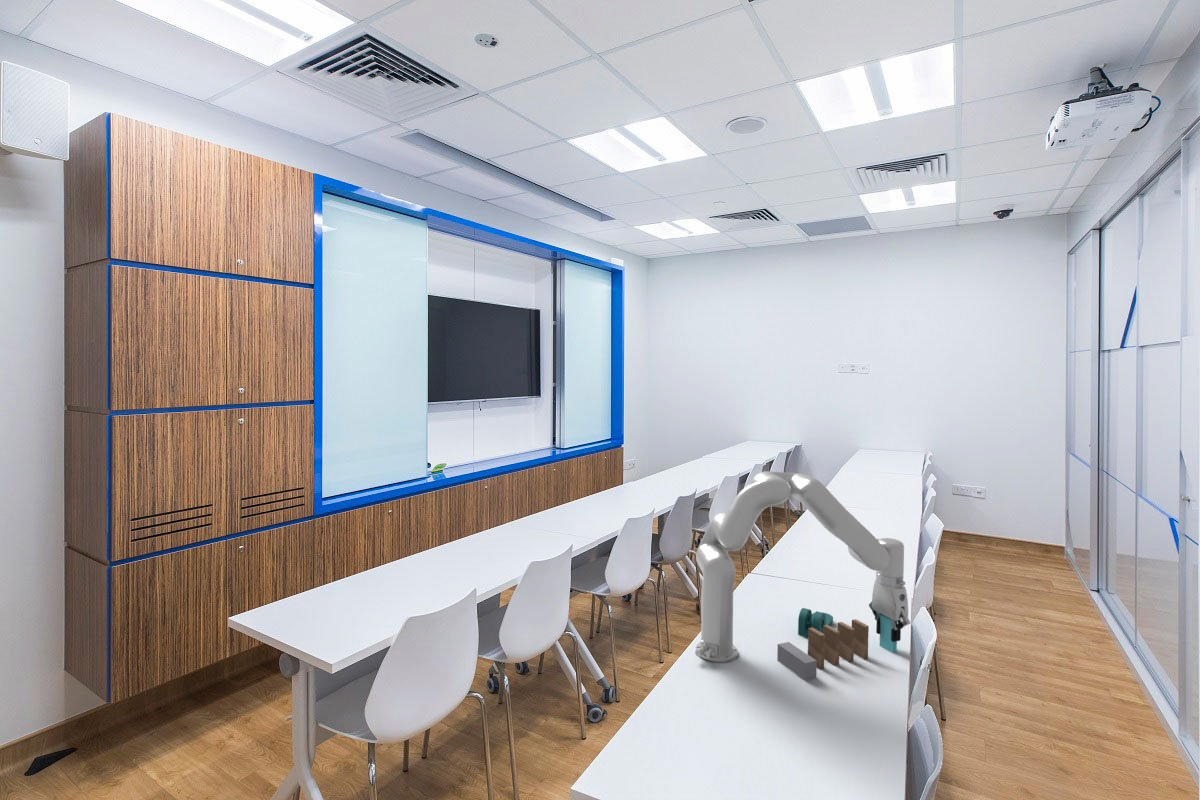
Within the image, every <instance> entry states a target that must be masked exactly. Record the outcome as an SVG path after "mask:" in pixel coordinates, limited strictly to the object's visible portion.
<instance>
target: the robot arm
mask: <svg viewBox="0 0 1200 800" xmlns="http://www.w3.org/2000/svg"><path fill="white" fill-rule="evenodd" d="M789 499H794V500H797V501H799V502H800V503H801V504H802V505H803V506H804V507H805V508H806V509H807V510H808V511H809V512H810V513H811V514H812V515H813V516H814V517H815V519H816V520H817V521H818V522H819V523H820V524H821V525H822V527H823V528H825V529H826V530H827V531H828V532H829V533H830V534H831V535H833V536H834V537H835V538H837V539H839V540H840V541H841V542H842V543H844V544H845V545H847V549H848V553H849V555H850V556H851V557H852V558H853V559H854V560H856V561H857V562H859V563H861V564H862V565H863V566H865V567H866V568H868V569H869V570H871V571H875V572H876V573H875V574H876V575H875V580H874V584H873V587H872V588H873V589H872V594H871V595H872V597H871V602H869V604H868V607H869V608H870V610H871V611H872V614H873V616H874V619H875V621H876V628H875V629H876V630H875V631H876V634H878V635H880V614H882V615H885V616H887V617H889V618H891V620H892V625H893V629H891V641H892V642H896V641H897V642H899V641H901V636H902V635H901V634H902V633H901V631H902V630H903V628H904V627H906V626H909V625H910V624H911V621H910V619H909V601H908V594H907V589H906V586H905V585H906V581H904V567H905V545H904V543H903V542H902V541H901V540H899V539H896V538H890V537H889V538H888V537H884V538H877V537H875V536H874V534H872V533H871V532H870V530H868V529H867V528H866V527H865V526H864V525H863V524H862V523H861V522H860V521H859V520H858V519H857V518H856V517H855V516H854V515H853V514H851V512H849V510H847V508H845V506H843V504H841V502H840V501H839V500H838V499H837V498H836V497H835V496H834V495H833V494H832V493H831V491H830V490H829V489H828V488H827V487H826V485H824V484H823V483H822V482H821V481H820V480H818V479H817V478H815V477H813V476H810V475H808V474H806V473H799V472H783V471H770V470H769V471H767V470H766V471H765V470H764V471H761V472H758V473H757V474H756V475H754V477H753V478H752V481H751V484H749V485H747V486H745V487H744V488H743V489H741V491H739V492H738V494H737V495H736V497H735V498H734V499H733V501H732V504H731V505H730V507H729V508H728V511H723V512H720V513H718V514H716V515H715V516H714V517H713V518H712V519H711V521H710V522H709V524H708V526H707V528H706V530H705V532H704V534H703V536H702V539H701V540H700V542H699V544H698V547H697V550H696V554H695V560H696V563H697V566H698V567H699V568H700V571H701V572H702V584H701V593H700V594H701V598H700V599H701V601H700V603H701V604H700V605H701V607H700V608H701V610H700V612H701V613H700V614H701V615H700V617H701V618H700V625H701V627H700V638H701V639H700V641H699V642H698V643H697V644H696V646H695V653H694V654H695V656H696V657H698V658H699V657H700V658H702V659H704V660H706V661H709V662H710V661H711V662H713V663H726V662H727V663H729V662H731V661H733V660H736V658H737V657H738V655H739V651H738V648H737V647H736V645H734V643H733V641H734V588H735V587H734V586H735V581H736V567H735V563H734V561H733V559H732V558H731V556H730V555H729V551H734V552H735V551H739V550H741V549H742V548H743V547H744V546H745V544H747V543H746V542H747V541H748V539H749V537H750V534H751V533H752V530H753V528H754V526H755V524H756V522H757V520H758V518H759V516H760V515H761V514H762V513H763V511H764V510H765V509H767V508H770V507H773V506H777V505H781V504H783V503H785V502H787V500H789ZM896 621H897V623H896ZM901 629H902V630H901Z"/></svg>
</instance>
